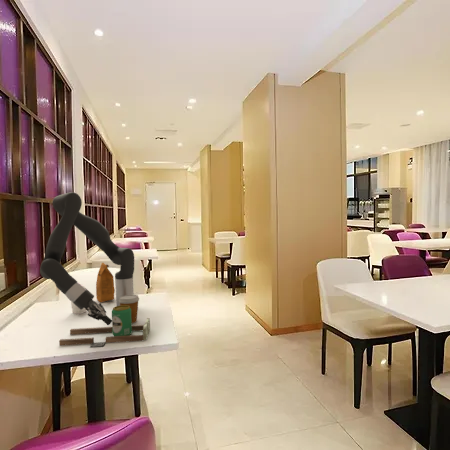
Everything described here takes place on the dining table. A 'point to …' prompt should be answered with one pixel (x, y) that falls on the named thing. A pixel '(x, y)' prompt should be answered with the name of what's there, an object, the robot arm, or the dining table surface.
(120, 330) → the beverage can
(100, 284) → the coffee package
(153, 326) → the dining table surface
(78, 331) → the walnut track
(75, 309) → the white cup
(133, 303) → the disposable coffee cup
